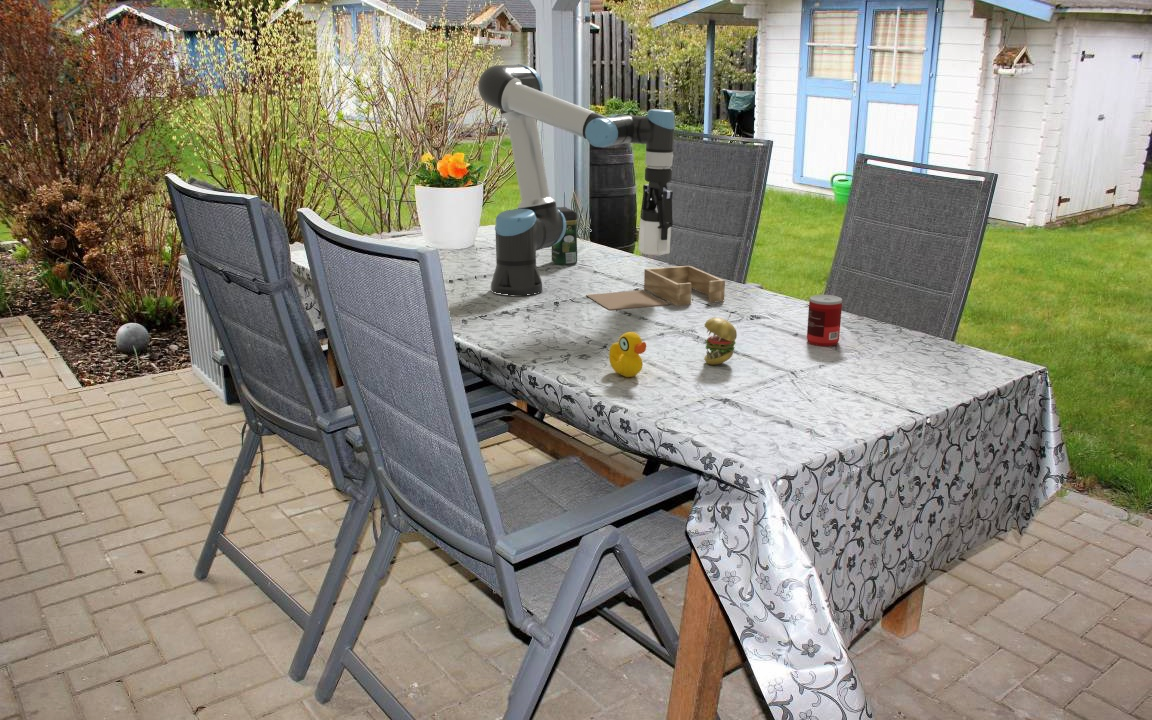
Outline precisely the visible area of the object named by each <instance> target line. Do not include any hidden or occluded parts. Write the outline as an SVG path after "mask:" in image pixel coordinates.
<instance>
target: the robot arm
mask: <svg viewBox="0 0 1152 720" xmlns="http://www.w3.org/2000/svg"><path fill="white" fill-rule="evenodd" d="M477 86H478V93H479V95H480V98H481V99H482V100H483V102H484V103H486V104H487V105H488V106H490V107H493V108H495V109H498V110H499V112H500V116H501V117H502V118H504V119H505V121H506V122H507V123H506V124H507V128H508V133H509V139H510V145H511V149H512V154H513V155H512V156H513V161H514V167H515V171H516V177H517V184H518V190H519V195H520V203H519V204H518V206H517V208H514V209H507V210H504V211H502V212H499V214H497V215H496V218H495V226H494V230H495V258H496V259H495V261H496V264H495V269H494V271H493V277H492V280H491V283H490V291H491V290H492V291H493V292H496V293H501V294H508V295H527V294H534V293H538V292H540V293H542V292H543V281H542V279H541V276H540V272H539V269H538V267H537V251H540V250H542V249H547V248H548V249H549V248H552V246H553V245H555V244H557V243H558V242H559V241H560V240H561V239H562V238H563V236H564V234H565V232H566V220H565V217H564V215H563V213H561V212H560V210H559V209H557V202H556V200H555V199H554V198H553V197H552V196H551V195H550V191H549V186H548V185H549V184H548V180H547V173H546V169H545V163H544V157H543V152H542V150H543V149H542V145H541V139H540V133H539V128H538V122H537V121H539V122H542V123H544V124H547V125H549V126H552V127H555V128H556V129H558V130H559V129H560V130H561V131H565V132H566V133H567V132H568V133H570V134H572V135H574V136H578V137H580V138H583V139H585V140H587V142H588V143H589V144H590V146H593V147H595V148H609V147H611V146H617V145H622V144H641V145H645V160H644V161H645V162H644V163H645V164H644V165H645V166H646V167H645V168H644V181H646V182H648V184H643V186H642V188H643V189H642V201H641V209H640V216H639V217H640V218H641V217H642V210H643V209H646V208H647V209H656V208H657V210H658V217H659V225H660V226H658V238H657V251H667V236H668V228H669V227H671V228H672V227H673V226H674V225H673V224H674V223H673V221H674V220H673V194H674V192H673V190H668V183H670V182H671V181H672V179H673V169H672V168H671V167H672V166H673V158H674V156H675V155H674V140H675V130H676V125H675V123H676V122H675V112H674V111H673V110H670V109H660V108H659V109H657V108H655V109H653V108H652V109H648V111H647V114H646V116H645V115H643V116H641V115H633V114H632V115H631V114H611V115H610V116H605V115H604V114H601V113H597V112H596V111H593V110H590V109H587V108H586V107H583V106H580V105H578V104H575V103H572V102H569V101H567V100H564V99H562V98H558V97H556V96H554V95H552V94H549V93H545V92H544V91H543V90H544V86H543V80H542V78H541V76H540V74H539V73H538V72H537V71H536V69H534V68H532V67H531V66H528V65H523V64H519V63H518V64H505V65H502V64H498V65H497V64H496V65H493V66H490V67H487V69H485V70H484V71H483V72H482V74H481V75H480V77H479V79H478V85H477ZM538 294H539V293H538ZM534 295H535V294H534Z"/></svg>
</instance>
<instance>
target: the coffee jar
mask: <svg viewBox="0 0 1152 720" xmlns="http://www.w3.org/2000/svg"><path fill="white" fill-rule="evenodd" d="M556 207H557V206H556ZM557 209H559V210H560V212H561V213H563V215H564V217H565V220H566V232H565V234H564V236H563V238H562V239H561V240H560V241H559V242H558V243H557V244H555V245H553V246H551V261H552V263H554V264H556V265H558V266H572V265H574V264H577V263H578V237H577V235H578V234H577V233H578V232H577V231H578V212H577V211H575V210H573V209H571V208H568V207H567V206H561V207H560V206H558V207H557Z"/></svg>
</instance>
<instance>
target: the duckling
mask: <svg viewBox="0 0 1152 720" xmlns="http://www.w3.org/2000/svg"><path fill="white" fill-rule="evenodd" d="M646 349H647V343H646V342H645V341H643V340H642V338H641V336H640V335H639V333H636V332H635V331H627V332H625V333H623V334H622V335H621V336H619V337H618V342H614V343H612V344H611V346H610V347H609V354H608V355H609V356H608V358H609V360H608V361H609V363H610V366H611V368H612V369H613V371H615V373H617V374H619V375H621V376H623V377H626V378H632V377H635V376H636V375H638V374H639V373H640V372H641V371H642V369H643V365H644V364H643V359H642V357H641V356H640V355H641V354H643V353H645V352H646Z"/></svg>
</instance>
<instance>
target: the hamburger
mask: <svg viewBox="0 0 1152 720" xmlns="http://www.w3.org/2000/svg"><path fill="white" fill-rule="evenodd" d="M731 315H732V312H730V313H729V315H728V318H727V320H726V319H723V318H722V317H712V318H708V320H707V321H705V323H704V328H705V329H707V331H706V334H707V335H708V337H707V339H705V340H704V341H705V342H706V345H705V349H706V350H707V351H706V355H704V358H703V360H704V361H705V363H706V364H708V365H710V366H715V365H721V364H723V363H725V362H727V361H729V360H730V359H731V358H732V356H733V355H734V351H735V347H736V346H735V345H736V343H737V342H736V339H737V336H738V334H737V330H736V328H735V326H734V325H733V324H732V323H731V322H729V321H728V320H729V318H731ZM708 332H709V333H708ZM712 333H713V335H711V334H712Z"/></svg>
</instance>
